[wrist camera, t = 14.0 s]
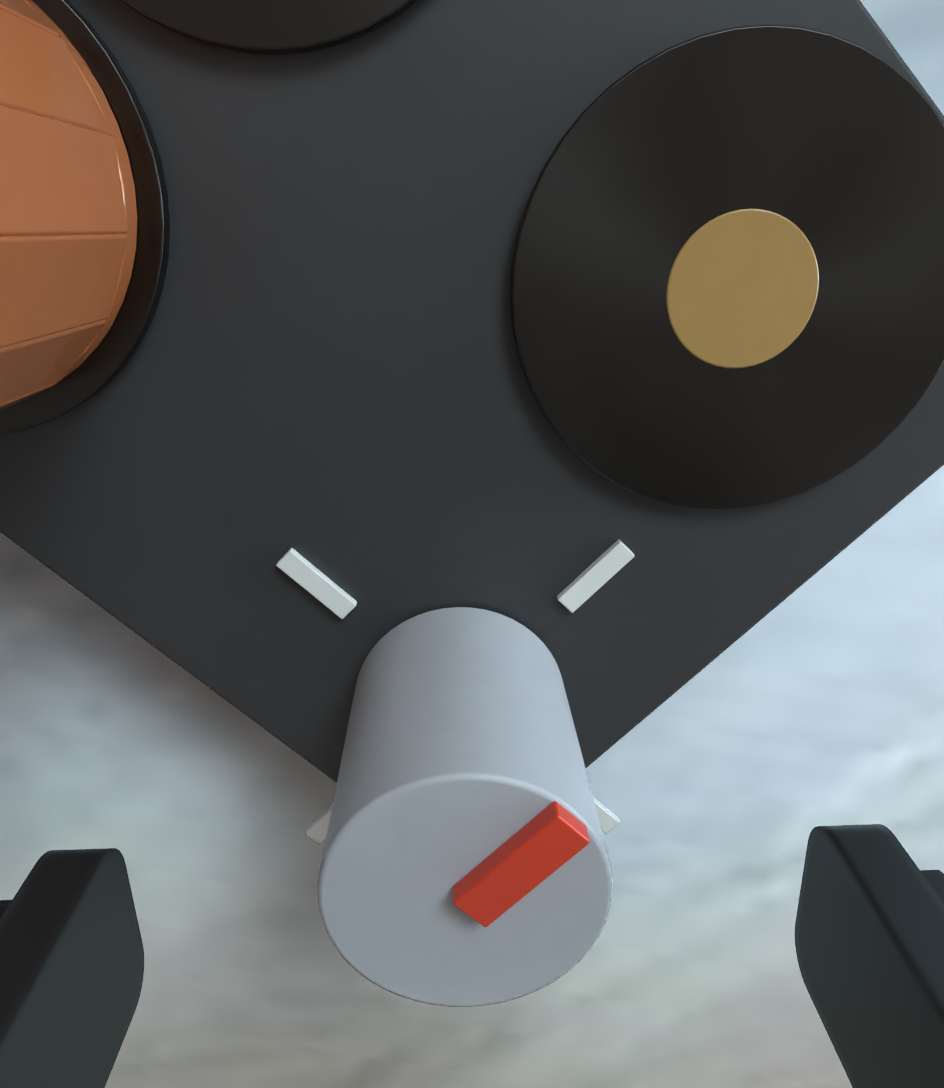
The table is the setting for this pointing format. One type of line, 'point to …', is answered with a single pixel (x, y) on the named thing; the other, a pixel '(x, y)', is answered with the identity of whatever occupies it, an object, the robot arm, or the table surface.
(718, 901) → the table surface
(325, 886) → the hob knob
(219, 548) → the hob
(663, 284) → the burners
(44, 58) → the copper pot
